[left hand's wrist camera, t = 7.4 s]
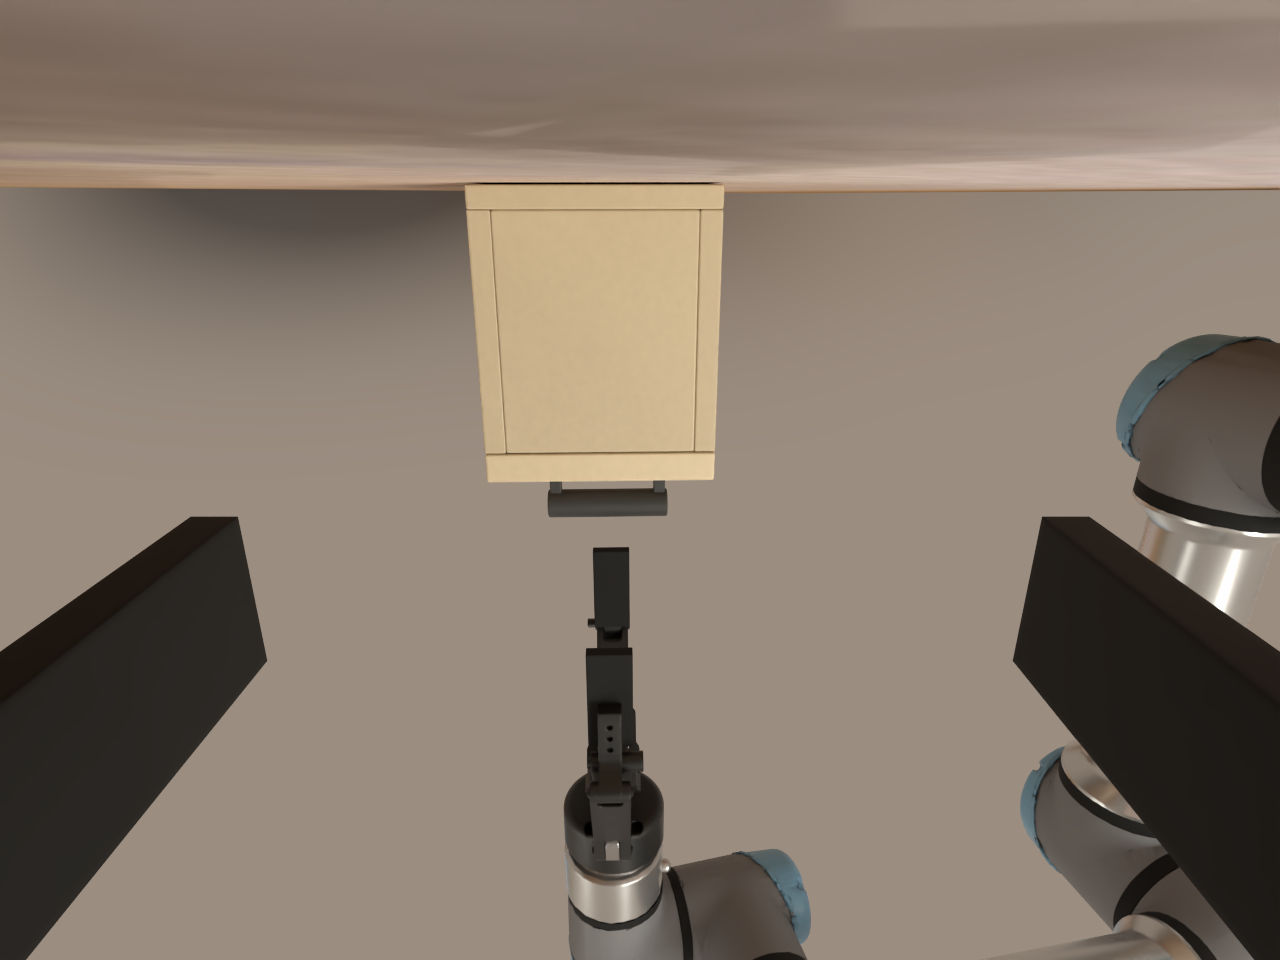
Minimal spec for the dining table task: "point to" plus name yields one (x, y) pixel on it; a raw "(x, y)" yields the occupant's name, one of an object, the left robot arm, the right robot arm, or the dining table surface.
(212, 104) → the dining table surface
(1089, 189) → the dining table surface
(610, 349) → the chest
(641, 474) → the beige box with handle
